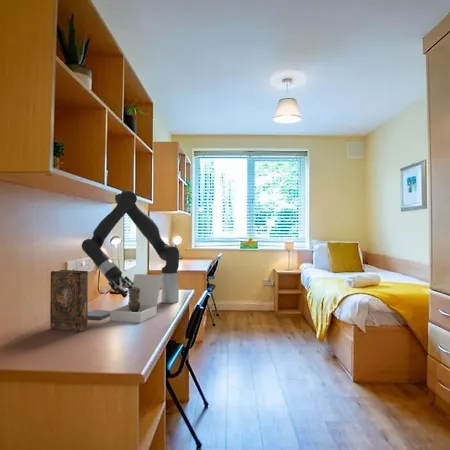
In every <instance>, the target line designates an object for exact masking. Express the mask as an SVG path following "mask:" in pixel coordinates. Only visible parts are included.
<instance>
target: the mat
mask: <svg viewBox="0 0 450 450" xmlns="http://www.w3.org/2000/svg"><path fill="white" fill-rule="evenodd" d="M110 311H111V310H104V309H103V310H102V309H94V310H89V311H88V320H98V321H99V320H104V319H106V318H110Z"/></svg>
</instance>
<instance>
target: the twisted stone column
mask: <svg viewBox="0 0 450 450" xmlns="http://www.w3.org/2000/svg"><path fill="white" fill-rule="evenodd" d="M127 291H128V293H127V294H128V300H129V299H130V300H131V302H130V303H129V309H130V310H131V312H138V310H139V309H140V302H138V299H139V296H140V295H139V293H140V289H139V288H137V287H132V289H128V288H127ZM129 297H130V298H129Z"/></svg>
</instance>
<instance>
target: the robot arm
mask: <svg viewBox="0 0 450 450" xmlns="http://www.w3.org/2000/svg"><path fill="white" fill-rule="evenodd" d="M120 191H122V193H121V194H118V195H116V194H115V197H114V200H115V203H116V206H115V207H114V208H113V209H112V210H111V211H110V212H109V213H108V214H107V215H105V217H103V219H102V220H101V221H100V222H99V223H98V225H97V226H96V227H95V228H94V230H93V232H92V237H91V238H87V239H84V240H83V241H81V249H82V251H83V252H84V253H85V254H86V255H87V257H89V258H90V259H91V261H92V262H93V263H94V265H95V266H96V267H97V268H98V270H99V271H100V272H101V274H102V275H103V276H104V277H105V279H106V280H107V281H108V285H109V286H110V287H111V289H112V290H113V291H114V292H115V293H119V294H120V295H121V296H122V298H123V299H125V298H126V297H127V296H128V293H127V291H125V290H124V289H123V288H125V289H127V290H128V289H132V286H133V285H134V284H133V281H132V280H131V279H130V278H129V277H128V276H123V275H122V274H123V272H122V271H121V269H120V268H119V267H118V265H116V263H115V262H114V261H113V260H111V258H109V256H108V255H107V254H106V253H105V252H104V251H103V250H102V246H103V244H104V242H105V240H106V238H107V237H108V236H109V235H110V234H111V232H112V231H113V230H114V227H116V225H117V224H118V222H120V220H121V219H122V218H123V217H124V216H125V215H128V217H129V218H130V220H131V221H132V222H133V224H134V225H135V226H136V227H137V229H138V230H139V232H140V233H141V234H142V236H144V237H145V239H146V240H147V241H148V243H149V244H150V245H151V246H152V247H153V249H154V250H155V252H156V254H157V255H158V257H159V258H160V260H162V261H165V266H163V267H162V268H161V275H163V276H162V281H161V303H163V304H174V303H177V302H179V300H180V299H179V298H180V297H179V296H180V295H179V293H180V292H179V290H180V288H179V284H178V270H179V267H180V263H179V262H180V251H179V248H178V247H177V246H175V245H168V244H167V243H165V241H164V240H163V239H162V236H161V234H160V230H159V227H158V225H157V223H155V221H154V220H153V218H151V217H150V216H149V215H148V213H145V211H143V210H142V209H141V208H140V207H139V206H138V205H137V204H136V203H137V201H138V197H137V194H136V193H135V192H134V191H133V190H129V189H124V190H123V189H122V190H120Z"/></svg>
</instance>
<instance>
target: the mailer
mask: <svg viewBox="0 0 450 450" xmlns="http://www.w3.org/2000/svg"><path fill="white" fill-rule="evenodd" d="M162 276H163V275H162V274H142V273H134V276H133V280H132V283H133V284H134V285H133V286H132V287H137V288H139V289H140V293H139V295H140V296H139V299H138V302H140V309H139V310H138V312H131V310H130V309H129V303H130V302H131V300H130V299H129V298H130V297H129V296H128V302H127V304H124V305H122V306H120V307H117V308H114V309H112V310H109V311H110V316H109V321H114V322H126V323H127V322H128V323H138V324H139V323H140V324H141V323H144V321H146V320H149V319H152V318H153V317H155V316H157V306H158V302H159V296H160V293H161V292H160V291H161V288H162Z"/></svg>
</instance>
